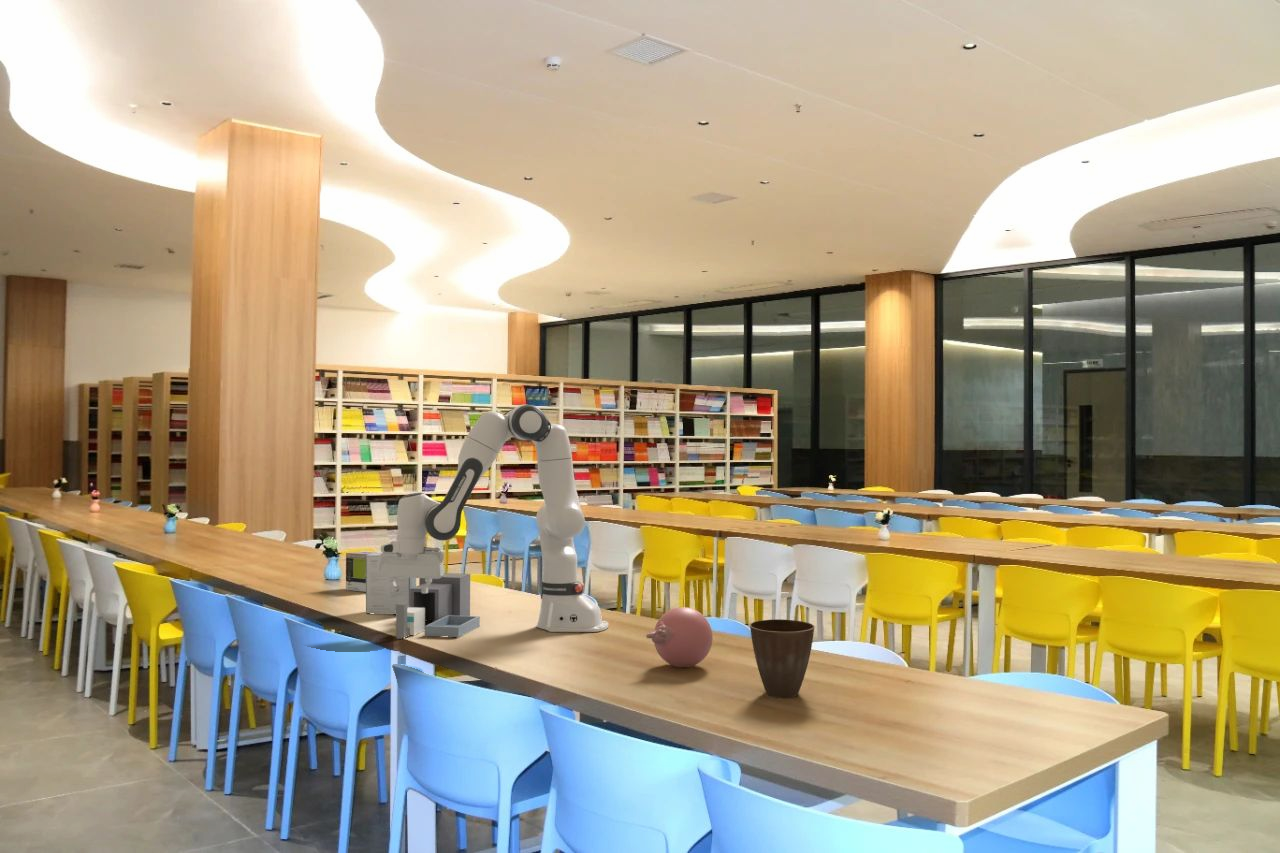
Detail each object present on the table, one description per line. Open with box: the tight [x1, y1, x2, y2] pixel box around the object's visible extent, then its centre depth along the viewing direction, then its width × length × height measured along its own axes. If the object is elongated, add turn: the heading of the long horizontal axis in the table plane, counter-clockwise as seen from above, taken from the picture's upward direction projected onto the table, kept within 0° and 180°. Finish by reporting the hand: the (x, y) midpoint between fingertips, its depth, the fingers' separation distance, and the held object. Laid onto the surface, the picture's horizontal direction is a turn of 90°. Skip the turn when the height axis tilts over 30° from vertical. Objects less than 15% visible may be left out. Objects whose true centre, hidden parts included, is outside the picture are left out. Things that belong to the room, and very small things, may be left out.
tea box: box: [345, 550, 383, 593], centre depth 384 cm, size 15×10×15 cm
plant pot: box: [749, 618, 815, 699], centre depth 231 cm, size 15×15×16 cm
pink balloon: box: [645, 606, 714, 668], centre depth 257 cm, size 15×20×15 cm
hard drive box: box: [365, 553, 417, 615], centre depth 335 cm, size 16×8×20 cm, turn 84°
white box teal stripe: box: [395, 603, 426, 640], centre depth 298 cm, size 5×13×10 cm, turn 171°
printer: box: [410, 572, 471, 622], centre depth 320 cm, size 14×22×14 cm, turn 170°
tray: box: [424, 615, 481, 638], centre depth 303 cm, size 11×19×3 cm, turn 170°
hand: (410, 592), depth 299 cm, fingers open, 8 cm apart
